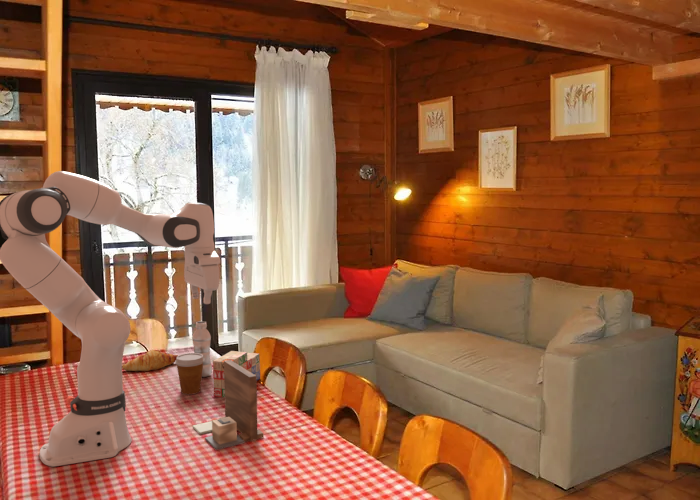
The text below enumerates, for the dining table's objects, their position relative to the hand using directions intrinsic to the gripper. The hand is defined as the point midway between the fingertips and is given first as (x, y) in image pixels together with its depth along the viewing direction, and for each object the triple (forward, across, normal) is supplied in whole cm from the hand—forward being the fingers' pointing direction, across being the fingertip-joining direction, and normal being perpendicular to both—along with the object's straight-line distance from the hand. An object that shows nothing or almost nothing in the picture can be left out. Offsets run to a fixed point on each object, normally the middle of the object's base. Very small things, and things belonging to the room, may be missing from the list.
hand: (201, 301), depth 189 cm
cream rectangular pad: (+34, +15, -4) cm, 37 cm away
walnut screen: (+34, +21, +3) cm, 40 cm away
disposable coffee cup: (+34, -18, +2) cm, 39 cm away
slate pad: (+34, +26, -4) cm, 43 cm away
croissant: (+34, -53, -1) cm, 63 cm away
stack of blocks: (+34, -13, +17) cm, 41 cm away
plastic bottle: (+34, -31, +11) cm, 48 cm away
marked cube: (+34, +26, -4) cm, 43 cm away
